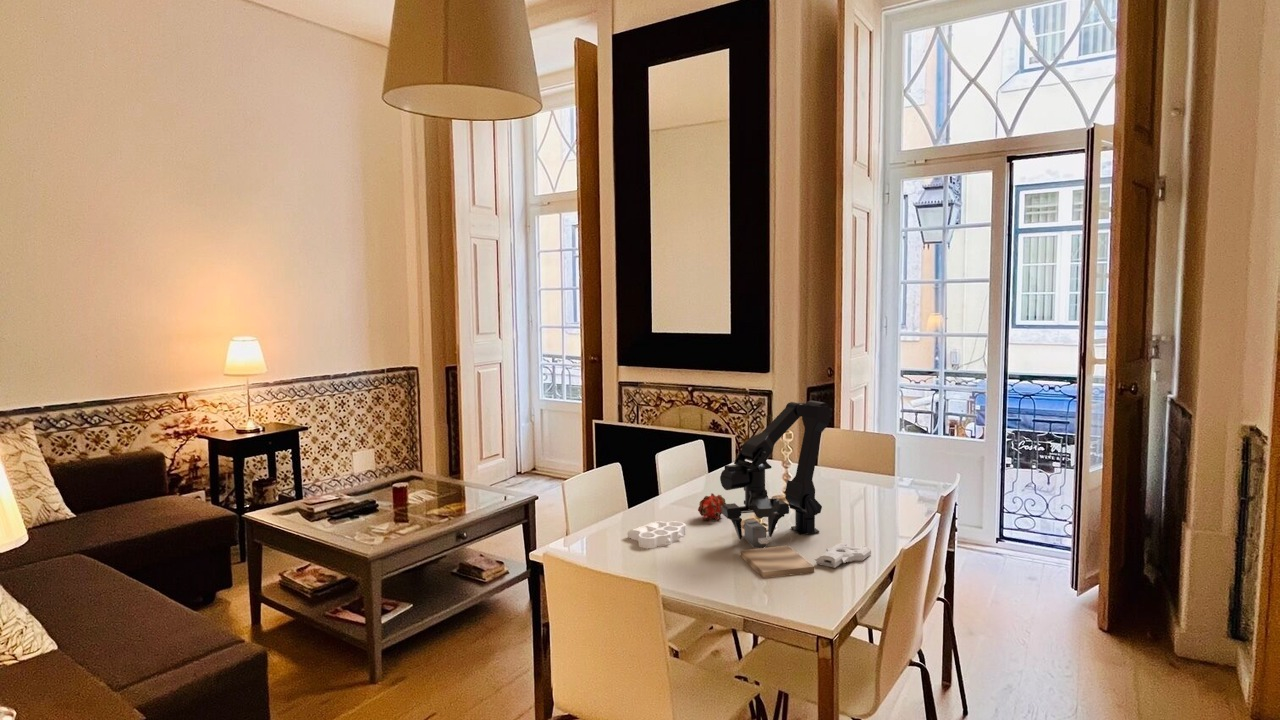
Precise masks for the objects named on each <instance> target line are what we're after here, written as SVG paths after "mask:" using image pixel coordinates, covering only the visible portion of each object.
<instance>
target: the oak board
mask: <svg viewBox="0 0 1280 720" xmlns="http://www.w3.org/2000/svg"><path fill="white" fill-rule="evenodd" d="M739 554H740V557H741V558H742V559H744V561H745V562H746V563H747V564H748V565H749V566H750V567H751V568H752V569H753V570H754V571H756V573H757V574H759V576H760V577H762V578H763V579H766V578H767V579H768V578H775V577H783V576H784V575H785V576H791V575H790V574H794V575H801V574H800V573H803V574H809V573H811V574H812V573H815V566H814V565H813V564H811V562H809V561H808V560H807V559H806V558H805V557H803V556H802V555H800V553H798V552H797V551H796V550H794V549H793V548H791V546H789V545H781V546H769V547H768V546H767V547H765V548H753V549H752V548H750V549H742V550H740V552H739Z"/></svg>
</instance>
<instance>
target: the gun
mask: <svg viewBox="0 0 1280 720" xmlns="http://www.w3.org/2000/svg"><path fill="white" fill-rule="evenodd" d="M871 555H872V549H870V548H869V547H867V546H865V545H864V546H863V547H856V546H855V547H854V546H848V545H847V544H846V543H839V542H838V543H837V544H836V545H834V546H832V547H830V548H828V549H826V552H824V553H823V554H821V555H819V556H818V557H815V558H814V560H815V563H816V564H817V565H820V566H825V567H830V568H834V569H836V568H837V567H839V566H840V565H841V564H845V563H846V562H847V563H851V562H862V561H864V560H865V559H867V558H868V557H869V556H871Z"/></svg>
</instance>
